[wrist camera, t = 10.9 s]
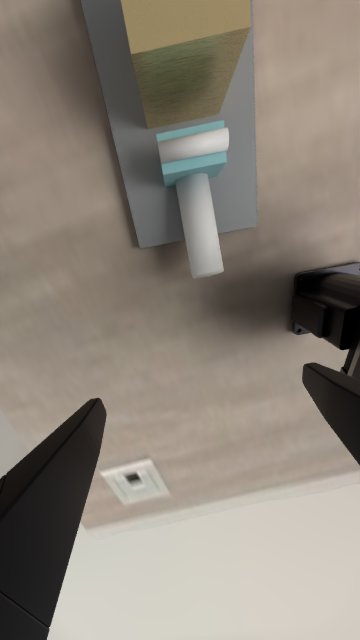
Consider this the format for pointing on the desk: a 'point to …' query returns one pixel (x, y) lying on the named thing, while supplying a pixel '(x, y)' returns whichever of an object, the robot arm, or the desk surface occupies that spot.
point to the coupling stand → (179, 151)
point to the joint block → (184, 54)
